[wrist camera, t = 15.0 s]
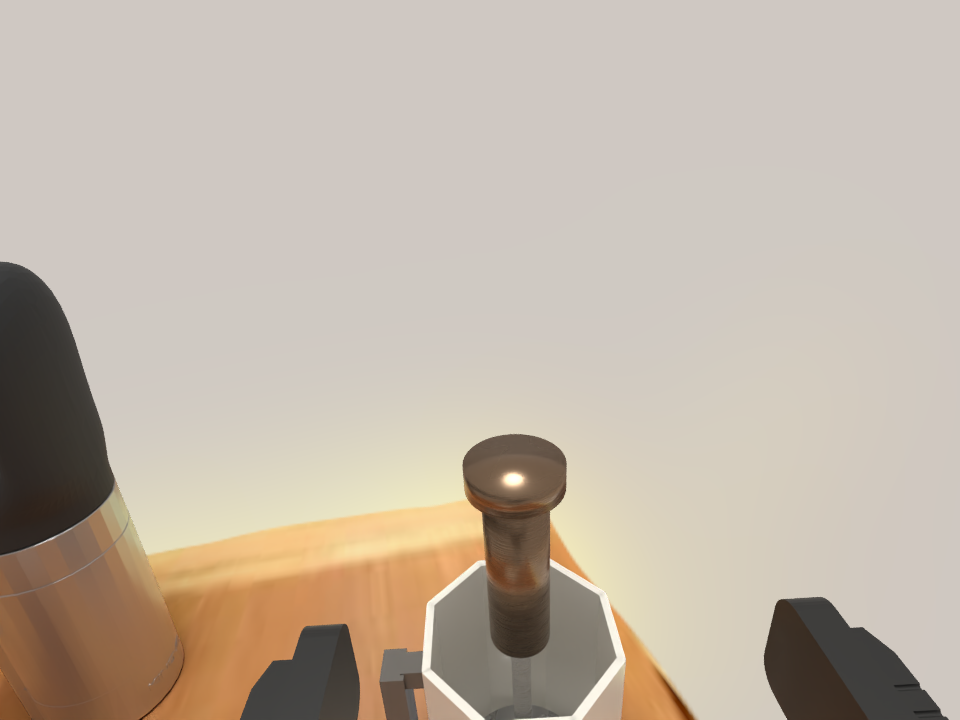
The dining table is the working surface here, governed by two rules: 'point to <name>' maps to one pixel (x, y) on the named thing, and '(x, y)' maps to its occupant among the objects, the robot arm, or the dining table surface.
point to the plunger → (517, 549)
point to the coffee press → (488, 672)
